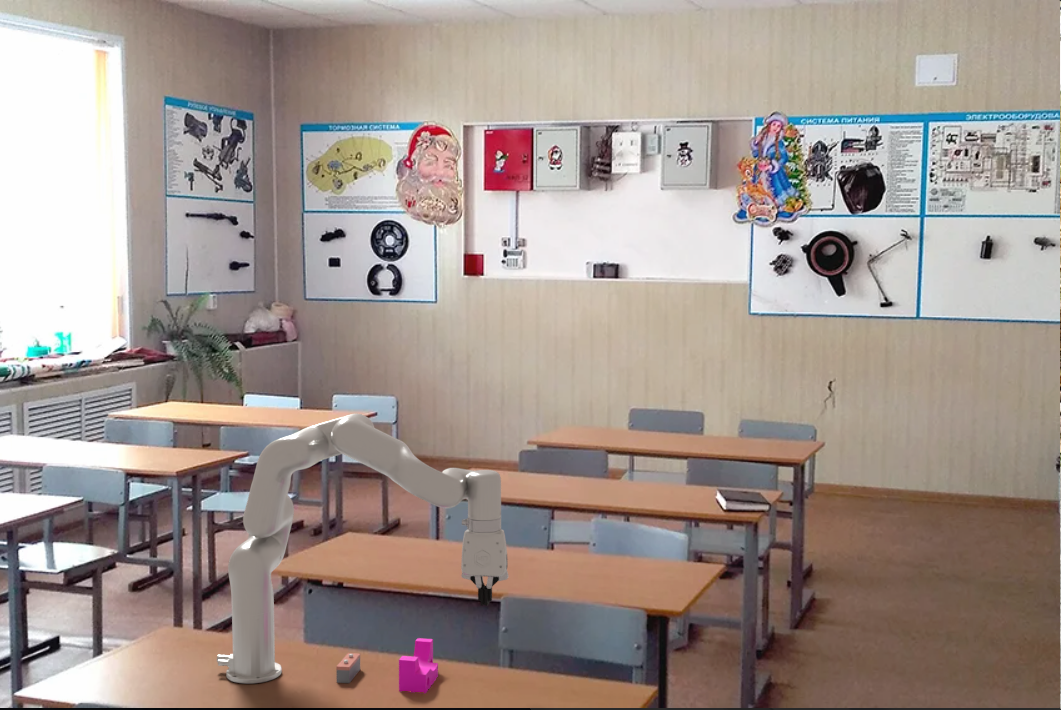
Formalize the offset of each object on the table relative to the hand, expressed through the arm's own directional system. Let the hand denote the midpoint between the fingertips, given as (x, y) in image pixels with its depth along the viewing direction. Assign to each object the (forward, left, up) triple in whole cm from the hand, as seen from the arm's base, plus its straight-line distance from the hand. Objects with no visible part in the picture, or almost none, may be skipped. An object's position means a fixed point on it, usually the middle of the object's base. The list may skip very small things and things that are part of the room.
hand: (485, 603), depth 265 cm
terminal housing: (-32, -1, -19) cm, 37 cm away
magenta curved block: (-15, -1, -19) cm, 24 cm away
